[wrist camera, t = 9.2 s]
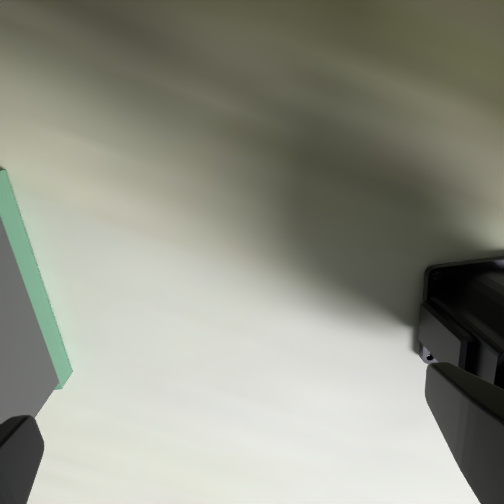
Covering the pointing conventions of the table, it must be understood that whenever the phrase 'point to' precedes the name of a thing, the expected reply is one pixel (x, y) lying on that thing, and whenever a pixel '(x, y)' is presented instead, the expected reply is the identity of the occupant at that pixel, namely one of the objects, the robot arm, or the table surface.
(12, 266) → the block
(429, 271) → the robot arm
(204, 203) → the table surface
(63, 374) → the green peg board
